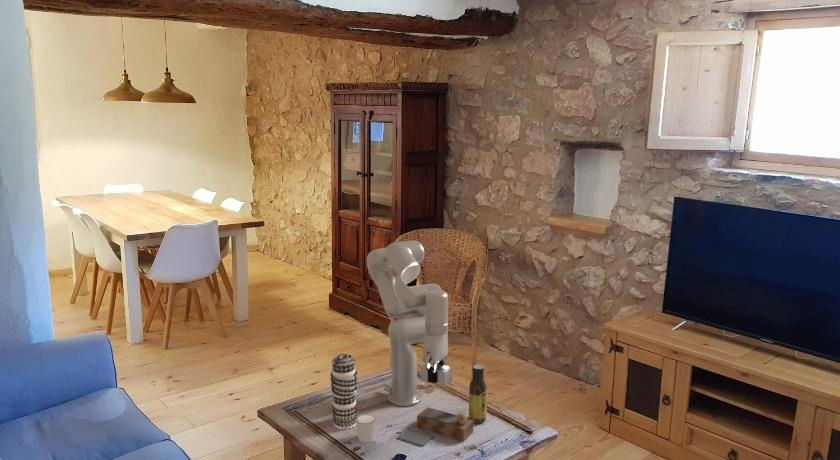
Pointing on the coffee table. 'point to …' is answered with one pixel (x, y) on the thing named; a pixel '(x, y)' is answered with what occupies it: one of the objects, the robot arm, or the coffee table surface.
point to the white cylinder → (366, 427)
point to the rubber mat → (415, 437)
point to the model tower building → (344, 391)
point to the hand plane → (445, 423)
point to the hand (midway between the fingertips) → (436, 378)
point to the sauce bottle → (478, 396)
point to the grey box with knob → (438, 374)
